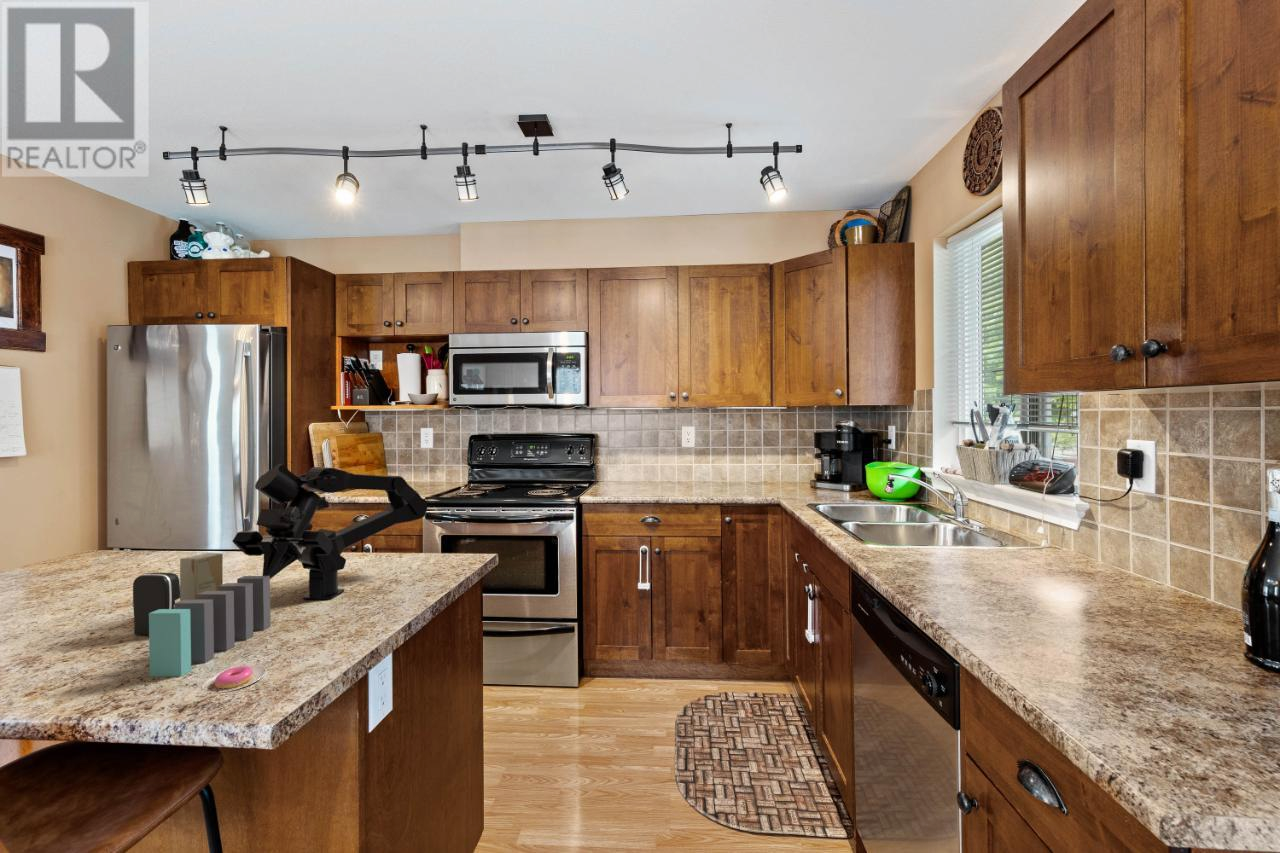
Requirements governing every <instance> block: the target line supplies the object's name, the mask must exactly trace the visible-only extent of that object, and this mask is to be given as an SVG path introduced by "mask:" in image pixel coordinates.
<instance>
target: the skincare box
mask: <svg viewBox="0 0 1280 853" xmlns="http://www.w3.org/2000/svg"><path fill="white" fill-rule="evenodd" d="M223 560H224V559H223V553H220V552H219V553H218V552H217V553H216V552H204V553H199V554H195V555H194V554H193V555H191V556H187V557H182V558H180V559H179V582H180V598H179V601H182V600H197V594H200V593H202V592H205V591H218V586H220V585H223V584H224V583H223V581H224V580H223V579H224V578H223Z"/></svg>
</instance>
